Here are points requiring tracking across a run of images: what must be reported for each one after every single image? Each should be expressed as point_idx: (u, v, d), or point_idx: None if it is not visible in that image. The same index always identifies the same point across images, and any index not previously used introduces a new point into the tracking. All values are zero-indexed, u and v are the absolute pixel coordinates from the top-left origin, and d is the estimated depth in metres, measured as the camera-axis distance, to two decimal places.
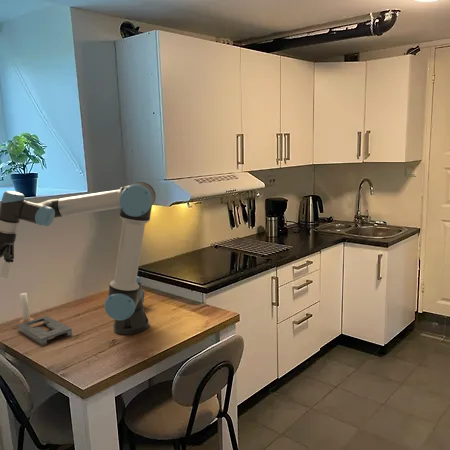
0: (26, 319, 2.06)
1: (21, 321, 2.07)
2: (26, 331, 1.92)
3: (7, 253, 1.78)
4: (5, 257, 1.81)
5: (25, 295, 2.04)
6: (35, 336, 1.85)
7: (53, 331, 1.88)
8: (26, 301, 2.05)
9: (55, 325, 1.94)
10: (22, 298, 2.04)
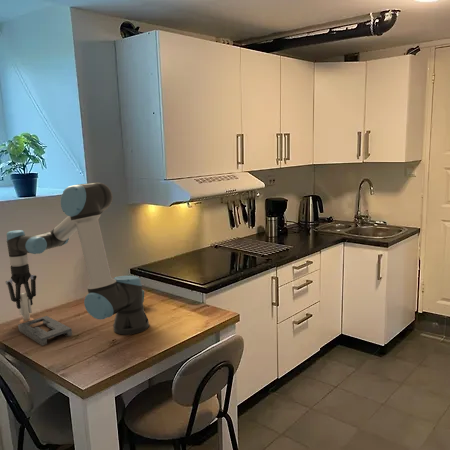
0: (26, 319, 2.06)
1: (21, 321, 2.07)
2: (26, 331, 1.92)
3: (25, 286, 2.05)
4: (26, 292, 2.07)
5: (25, 295, 2.04)
6: (35, 336, 1.85)
7: (53, 331, 1.88)
8: (26, 301, 2.05)
9: (55, 325, 1.94)
10: (22, 298, 2.04)
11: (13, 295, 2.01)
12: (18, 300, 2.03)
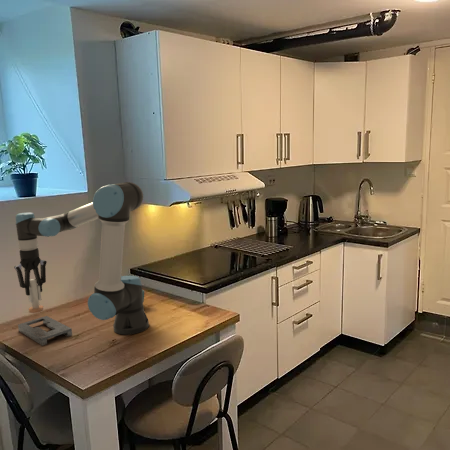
0: (35, 306, 1.95)
1: (30, 308, 1.96)
2: (26, 331, 1.92)
3: (35, 272, 1.94)
4: (36, 279, 1.96)
5: (34, 281, 1.94)
6: (35, 336, 1.85)
7: (53, 331, 1.88)
8: (35, 287, 1.95)
9: (55, 325, 1.94)
10: (31, 284, 1.93)
11: (22, 281, 1.90)
12: (27, 286, 1.92)
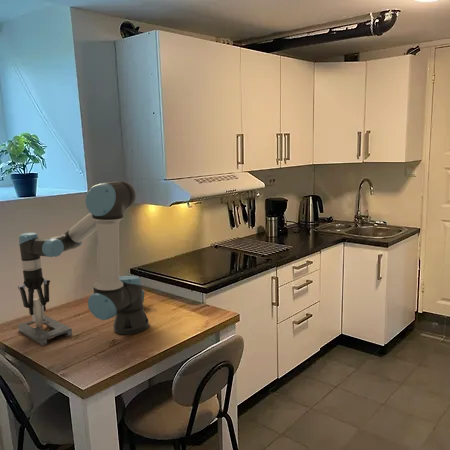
0: (39, 326, 1.96)
1: (34, 327, 1.97)
2: (26, 331, 1.92)
3: (39, 291, 1.95)
4: (39, 298, 1.97)
5: (38, 301, 1.95)
6: (35, 336, 1.85)
7: (53, 331, 1.88)
8: (39, 307, 1.95)
9: (55, 325, 1.94)
10: (35, 304, 1.94)
11: (26, 301, 1.91)
12: (31, 306, 1.93)
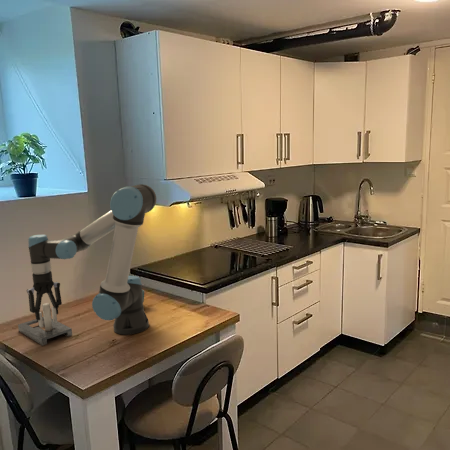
0: None
1: None
2: (26, 331, 1.92)
3: (49, 295, 1.89)
4: (51, 301, 1.91)
5: (48, 306, 1.88)
6: (35, 336, 1.85)
7: (53, 331, 1.88)
8: (49, 312, 1.89)
9: (55, 325, 1.94)
10: (45, 309, 1.88)
11: (33, 305, 1.84)
12: (37, 311, 1.85)
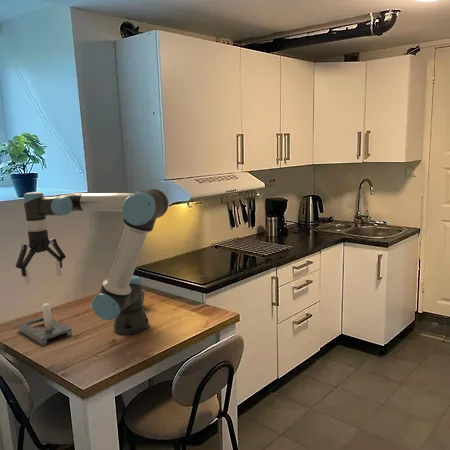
0: None
1: None
2: (26, 331, 1.92)
3: (49, 252, 1.87)
4: (54, 256, 1.90)
5: (48, 306, 1.88)
6: (35, 336, 1.85)
7: (53, 331, 1.88)
8: (49, 312, 1.89)
9: (55, 325, 1.94)
10: (45, 309, 1.88)
11: (21, 261, 1.79)
12: (24, 266, 1.80)
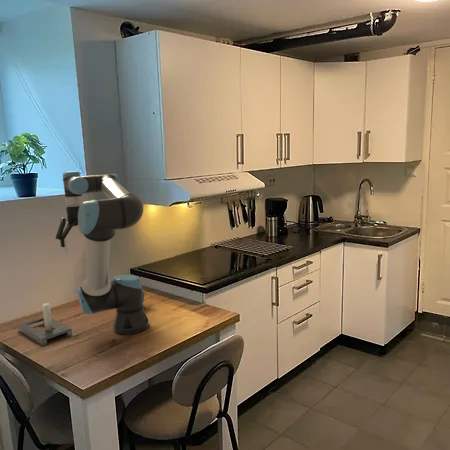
0: None
1: None
2: (26, 331, 1.92)
3: None
4: None
5: (48, 306, 1.88)
6: (35, 336, 1.85)
7: (53, 331, 1.88)
8: (49, 312, 1.89)
9: (55, 325, 1.94)
10: (45, 309, 1.88)
11: (61, 232, 1.99)
12: (63, 238, 2.00)
